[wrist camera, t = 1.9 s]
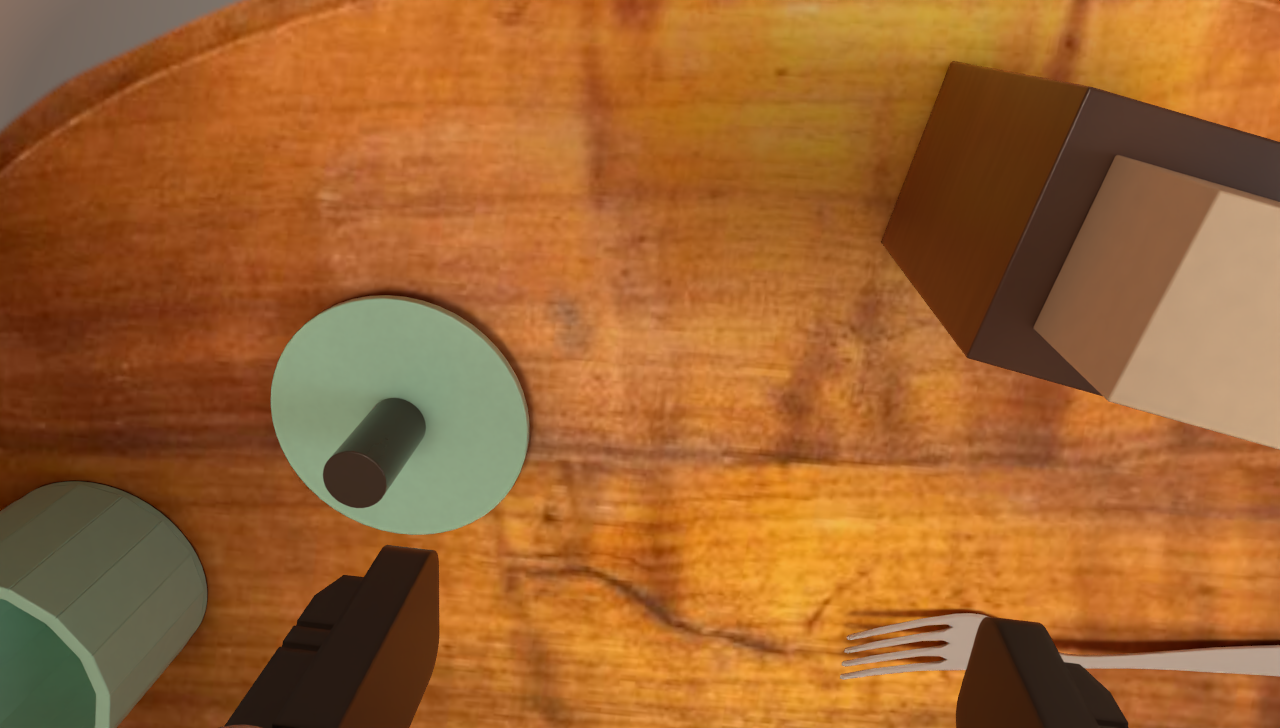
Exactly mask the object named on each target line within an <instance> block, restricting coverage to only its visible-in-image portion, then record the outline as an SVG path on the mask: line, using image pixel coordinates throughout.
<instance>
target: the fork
mask: <svg viewBox="0 0 1280 728" xmlns="http://www.w3.org/2000/svg"><path fill="white" fill-rule="evenodd" d="M985 617H988V616H986V615H981V614H973V613H960V614H950V615H943V616H936V617H929V618H924V619H919V620H914V621H909V622H904V623H899V624H894V625H889V626H884V627H879V628H875V629H871V630H867V631H863V632H858V633H854V634H850V635H848V636H847V639H848V640H854V639H859V638H864V637H869V636H874V635H879V634H884V633H890V632H895V631H900V630H905V629H911V628H916V627H921V626H926V625H942V624H947V625H949V626H951V627H950V628H946V629H943V630H938V631H932V632H927V633H921V634H915V635H910V636H904V637H898V638H892V639H887V640H881V641H876V642H871V643H866V644H862V645H857V646H852V647H848V648H845V651H844V652H845V653H852V652H858V651H863V650H869V649H875V648H881V647H887V646H894V645H900V644H906V643H912V642H919V641H937V640H943V641H945V642H948V644H944V645H940V646H934V647H927V648H920V649H914V650H907V651H900V652H893V653H886V654H880V655H873V656H868V657H863V658H857V659H852V660H847V661H843V662H842V666H852V665H859V664H865V663H872V662H879V661H887V660H894V659H902V658H910V657H917V656H940V657H943V658H945V660H941V661H936V662H926V663H917V664H908V665H899V666H891V667H882V668H873V669H867V670H862V671H856V672H851V673H845V674H841V675H840V679H850V678H858V677H865V676H872V675H882V674H891V673H901V672H911V671H925V670H966V668H967V665H968V661H969V658H970V654H971V651H972V647H973V644H974V640H975V637H976V633H977V630H978V627H979V625H980V623H981V621H982V620H983V619H984V618H985ZM1059 654H1060V656H1061V657H1062V659H1063V661H1064V662H1068V663H1076V664H1080V665H1081V666H1082V667H1083V668H1135V669H1163V670H1184V671H1199V672H1215V673H1236V674H1252V675H1268V676H1280V645H1268V646H1239V647H1214V648H1201V649H1188V650H1174V651H1159V652H1145V653H1129V654H1107V655H1074V654H1064V653H1059Z"/></svg>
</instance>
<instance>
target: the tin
mask: <svg viewBox="0 0 1280 728" xmlns="http://www.w3.org/2000/svg"><path fill="white" fill-rule="evenodd" d="M206 605H207V584H206V578H205V575H204V571H203V568H202V565H201V563H200V561H199V559H198V556H197V554H196V553H195V551H194V549H193V548H192V546H191V544H190V543H189V542H188V540H187V539H186V538H185V536H184V535H183V534H182V532H181V531H180V530H179V529H178V528H177V527H176V526H175V525H174V524H173V523H172V522H171V521H170V520H169V519H168V518H166V517H165V516H164V515H163V514H162V513H161V512H159V511H158V510H156V509H155V508H154V507H152V506H151V505H149V504H148V503H146V502H144V501H142V500H141V499H139V498H137V497H135V496H133V495H131V494H129V493H126V492H124V491H122V490H119V489H116V488H113V487H110V486H107V485H102V484H97V483H92V482H82V481H66V482H59V483H53V484H49V485H46V486H43V487H40V488H38V489H36V490H34V491H31V492H30V493H28V494H27V495H25V496H24V497H22V498H21V499H19V500H17V501H15V502H14V503H12V504H10V505H9V506H7V507H6V508H4V509H3V510H2V511H0V728H117V726H118V725H119V724H120V723H121V722H122V720H123V719H124V718H125V717H126V716H127V714H128V713H129V712H130V711H131V710H132V708H133V707H134V706H135V705H136V704H137V702H138V701H139V700H140V699H141V698H142V696H143V695H144V694H145V693H146V692H147V691H148V689H149V688H150V687H151V686H152V685H153V683H154V682H155V681H156V680H157V679H158V677H159V676H160V675H161V674H162V673H163V671H164V670H165V669H166V668H167V667H168V665H169V664H170V663H171V662H172V661H173V660H174V658H175V657H176V656H177V655H178V654H179V652H180V651H181V650H182V649H183V648H184V646H185V645H186V643H187V642H188V641H189V639H190V638H191V636H192V635H193V634H194V633H195V631H196V630H197V629H198V627H199V625H200V623H201V622H202V619H203V617H204V614H205V611H206Z"/></svg>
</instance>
